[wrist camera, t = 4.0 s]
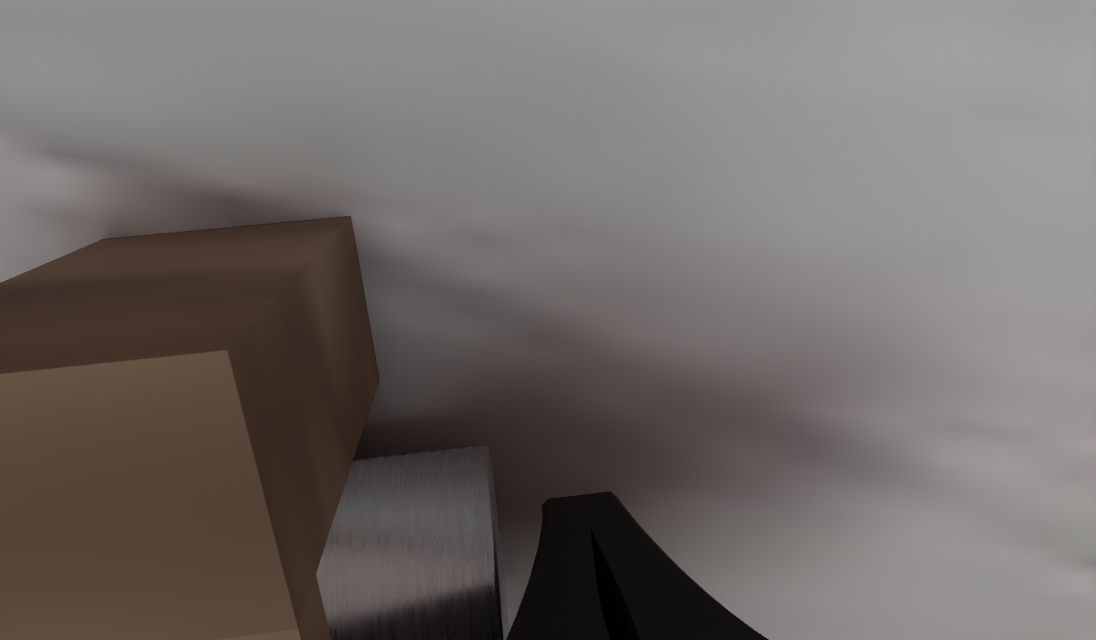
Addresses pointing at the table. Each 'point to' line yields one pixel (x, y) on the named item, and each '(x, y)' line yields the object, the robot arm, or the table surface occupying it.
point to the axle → (416, 550)
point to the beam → (179, 432)
